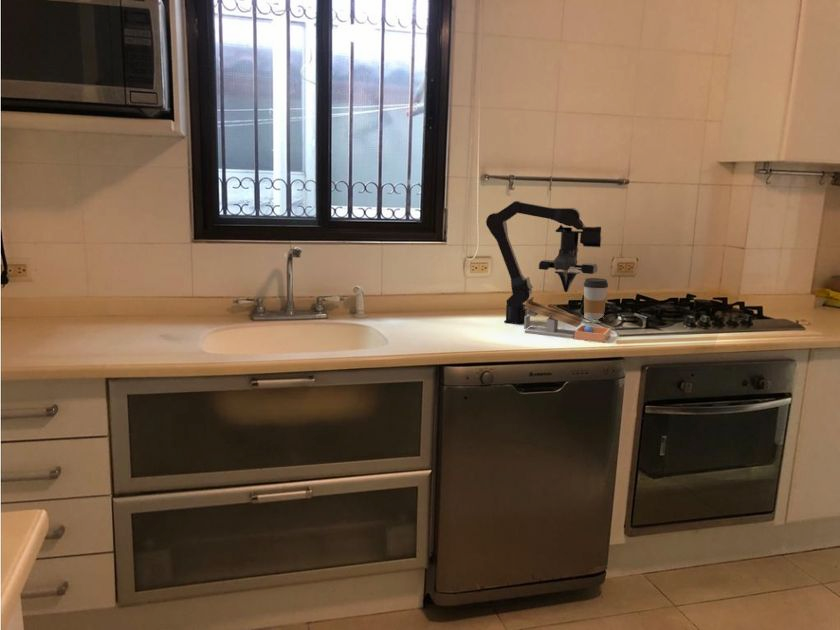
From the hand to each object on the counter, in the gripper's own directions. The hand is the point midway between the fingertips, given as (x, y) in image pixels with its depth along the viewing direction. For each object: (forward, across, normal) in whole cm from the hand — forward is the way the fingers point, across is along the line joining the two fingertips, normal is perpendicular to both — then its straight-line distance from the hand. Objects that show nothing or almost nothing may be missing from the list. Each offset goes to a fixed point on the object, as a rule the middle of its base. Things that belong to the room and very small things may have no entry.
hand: (566, 291), depth 223 cm
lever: (+8, -1, -11) cm, 13 cm away
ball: (+10, +12, -13) cm, 20 cm away
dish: (+12, +13, -13) cm, 22 cm away
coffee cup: (+12, +7, +11) cm, 18 cm away
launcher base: (+12, 0, -13) cm, 18 cm away
